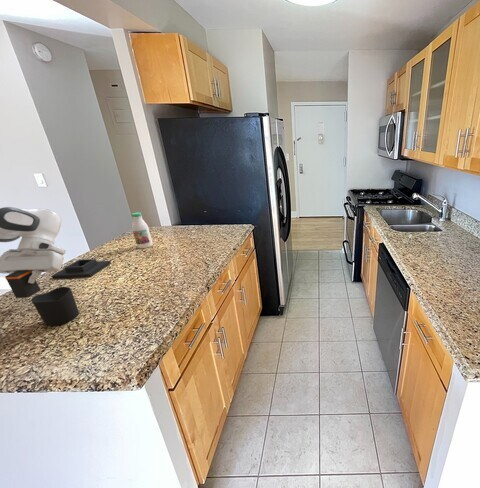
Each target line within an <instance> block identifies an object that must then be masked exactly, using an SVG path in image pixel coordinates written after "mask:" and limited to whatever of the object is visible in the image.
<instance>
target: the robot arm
mask: <svg viewBox="0 0 480 488" xmlns="http://www.w3.org/2000/svg"><path fill="white" fill-rule="evenodd" d="M61 226H62V217H61V216H60V215H59V214H58V213H57V212H56V211H53V210H51V209H47V208H42V207H39V208H35V209H25V208H18V207H13V206H4V207H0V243H10V242H15V241H17V240H19V239H20V238H21V239H20V241H19V244H18V245H17V248H16V249H12V248H11V249H8V250H6V251H4V252H3V253H2V254H1V255H0V274H3V275H4V274H8V275H9V274H12V273H14V272H16V271H24V270H31V271H32V273H33V274H32V275H31V276H30V277H29V278H27V279H26V283H28V284H33V283H34V282H35V280H37V279H38V278H39V277H40V276H41V275H42V273H54V272H55V273H57V272H59V271H60V270H61V268H62V266H63V263H64V258H65V256H64V255H65V254H66V249H64V248H62V247H59V246H58V245H55V239H56V237H58V235H59V232H60V229H61Z"/></svg>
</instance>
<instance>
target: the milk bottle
mask: <svg viewBox="0 0 480 488" xmlns="http://www.w3.org/2000/svg"><path fill="white" fill-rule="evenodd" d="M130 215H131V218H132V224H131V230H132V234H133V237H134V241H135V245H136V247H137V249H147V248H148V249H149V248H150V247H152V246H153V245H154V243H153V240H152V236H151V232H150V229H149V226H148V224H147V222H146V221H145V220H144V219H143V215H142V212H132V213H131V214H130Z"/></svg>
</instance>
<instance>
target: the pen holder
mask: <svg viewBox="0 0 480 488" xmlns="http://www.w3.org/2000/svg"><path fill="white" fill-rule="evenodd" d="M31 302H32V304H33V307H35V309H36V311H37V313H38V314H39V316H40V318H41V320H42V322H43V324H45V325H46V326H49V327H57V326H61V325H64V324H67V323H69V322H71V321H73V320H74V319H76V318H77V317H78V316H79V314H80V311H79V307H78V305H77V302H76V299H75V296H74V293H73V291H72V289H71V287H69V286H59V287H56V288H54V289H51V290H50V291H48V292H45V293H40V294H35V295H34V296H33V297H32V298H31Z"/></svg>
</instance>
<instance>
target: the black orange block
mask: <svg viewBox="0 0 480 488" xmlns="http://www.w3.org/2000/svg"><path fill="white" fill-rule="evenodd" d="M32 274H33V273H32V271H31V270H24V271H16V272H14V273H12V274H9V273H8V275H5V276H4V278H5V280H6V281H7V284H8V285H9V288H10V290H11V291H12V293H13V295H14V297H15V299H26V298H30V297H32V296H33V295H36V294H37V293H39V292H41V288H40V286H39V284H38V282H37V279H35V282H34V283H33V284H28V283H26V279H27V278H29V277H30V276H31V275H32Z"/></svg>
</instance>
